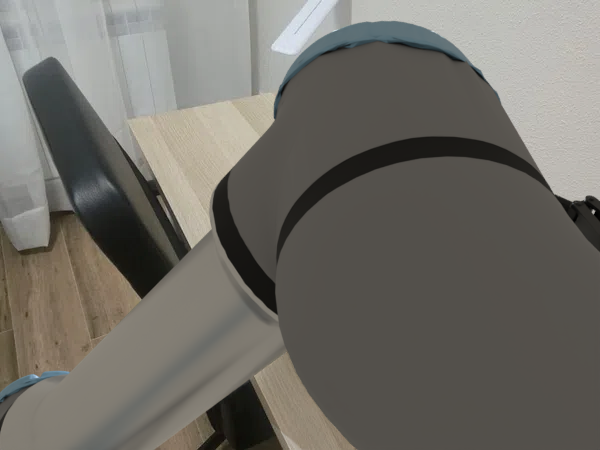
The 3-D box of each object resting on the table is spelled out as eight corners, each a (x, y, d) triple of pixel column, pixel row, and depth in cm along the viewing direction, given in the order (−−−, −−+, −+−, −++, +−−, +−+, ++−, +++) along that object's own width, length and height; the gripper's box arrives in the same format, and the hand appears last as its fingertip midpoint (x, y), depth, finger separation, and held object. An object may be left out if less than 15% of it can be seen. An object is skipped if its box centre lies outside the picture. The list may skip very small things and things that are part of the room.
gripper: (638, 451, 42) (407, 306, 53) (713, 279, 57) (520, 192, 67) (686, 397, 38) (420, 249, 48) (755, 224, 52) (539, 139, 62)
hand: (478, 216), depth 58 cm, fingers open, 13 cm apart
